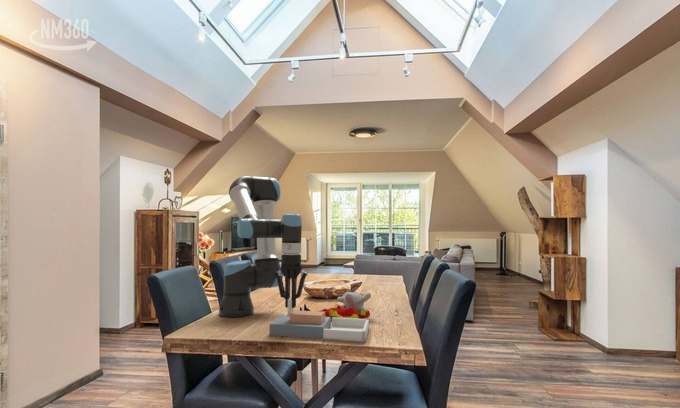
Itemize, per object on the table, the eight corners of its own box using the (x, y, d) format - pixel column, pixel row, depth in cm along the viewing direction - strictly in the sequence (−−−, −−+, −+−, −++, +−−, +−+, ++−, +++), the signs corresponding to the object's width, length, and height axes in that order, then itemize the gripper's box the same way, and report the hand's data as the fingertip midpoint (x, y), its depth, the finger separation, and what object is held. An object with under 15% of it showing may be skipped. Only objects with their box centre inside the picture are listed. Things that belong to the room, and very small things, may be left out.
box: (323, 339, 126) (323, 329, 126) (332, 326, 143) (332, 317, 143) (364, 342, 124) (364, 331, 124) (368, 328, 140) (368, 319, 141)
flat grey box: (269, 335, 131) (269, 324, 131) (281, 324, 145) (281, 314, 145) (323, 338, 128) (323, 327, 128) (330, 327, 141) (330, 317, 142)
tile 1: (289, 322, 134) (290, 313, 134) (294, 318, 140) (294, 310, 140) (305, 323, 133) (305, 314, 133) (309, 318, 139) (309, 311, 139)
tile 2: (305, 323, 133) (305, 314, 133) (309, 318, 139) (309, 310, 139) (321, 323, 132) (321, 315, 132) (324, 319, 138) (325, 311, 138)
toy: (336, 310, 181) (345, 317, 152) (336, 290, 183) (345, 293, 154) (359, 309, 183) (373, 316, 153) (359, 289, 184) (372, 293, 155)
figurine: (306, 301, 165) (371, 302, 159) (306, 315, 164) (372, 316, 158) (297, 308, 153) (367, 309, 146) (298, 323, 152) (368, 325, 146)
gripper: (271, 254, 136) (270, 317, 134) (305, 255, 134) (304, 319, 132) (278, 253, 143) (277, 313, 142) (310, 253, 141) (309, 314, 139)
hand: (290, 316), depth 137 cm, fingers closed
